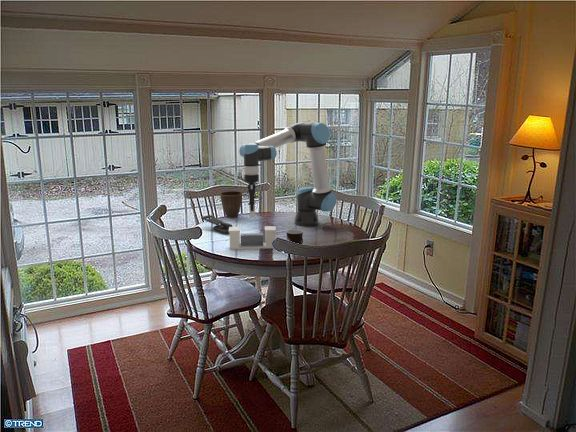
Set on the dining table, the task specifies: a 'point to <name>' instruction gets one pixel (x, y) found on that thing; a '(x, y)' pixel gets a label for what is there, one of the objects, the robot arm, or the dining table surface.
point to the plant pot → (231, 203)
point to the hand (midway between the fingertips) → (252, 213)
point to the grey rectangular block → (251, 239)
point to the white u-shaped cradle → (237, 245)
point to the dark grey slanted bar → (221, 228)
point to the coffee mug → (295, 236)
